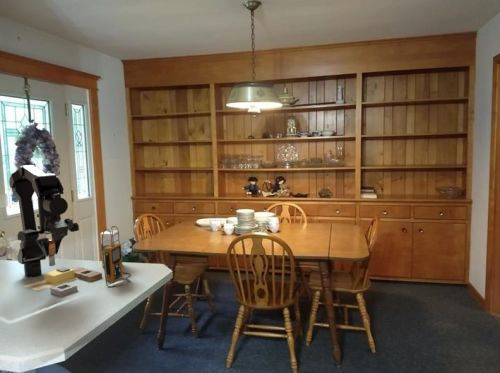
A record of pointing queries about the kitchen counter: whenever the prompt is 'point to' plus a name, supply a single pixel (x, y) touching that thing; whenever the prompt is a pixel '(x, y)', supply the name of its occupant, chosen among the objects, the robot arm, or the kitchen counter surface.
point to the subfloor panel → (45, 284)
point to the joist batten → (86, 274)
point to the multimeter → (113, 261)
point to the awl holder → (64, 289)
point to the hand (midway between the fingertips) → (51, 255)
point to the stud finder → (59, 275)
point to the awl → (51, 251)
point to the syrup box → (108, 241)
